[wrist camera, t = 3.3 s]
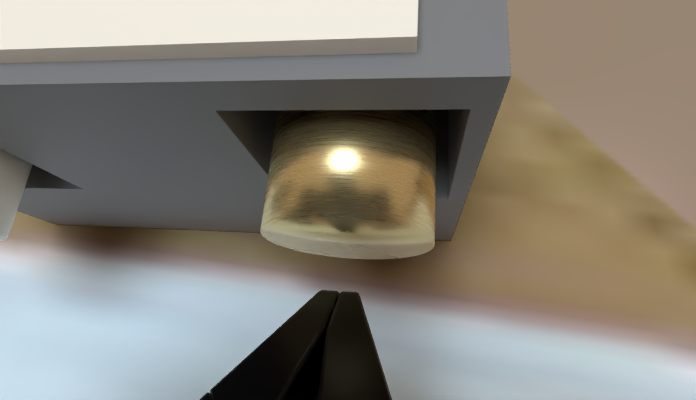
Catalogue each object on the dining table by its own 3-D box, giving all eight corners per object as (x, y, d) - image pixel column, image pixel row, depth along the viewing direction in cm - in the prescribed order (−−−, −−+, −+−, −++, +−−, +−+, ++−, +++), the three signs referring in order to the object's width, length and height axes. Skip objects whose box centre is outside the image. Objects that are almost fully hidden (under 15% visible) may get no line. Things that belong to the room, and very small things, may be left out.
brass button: (430, 262, 11) (440, 220, 8) (287, 255, 12) (232, 213, 8) (432, 160, 12) (441, 79, 9) (299, 158, 13) (254, 82, 9)
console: (450, 240, 17) (521, 47, 6) (55, 224, 20) (-379, 71, 9) (450, 109, 19) (504, -215, 8) (90, 111, 22) (-232, -128, 11)
